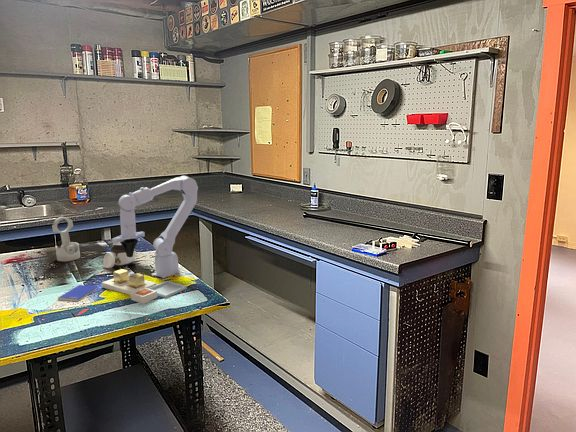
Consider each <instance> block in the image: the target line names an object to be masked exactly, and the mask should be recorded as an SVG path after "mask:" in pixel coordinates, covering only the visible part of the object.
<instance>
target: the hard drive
mask: <svg viewBox="0 0 576 432" xmlns="http://www.w3.org/2000/svg"><path fill="white" fill-rule="evenodd" d="M97 289H98V286H96V285H83V284H79V285H77V286H75V287H74V288H71V289H70V290H68V291H67V292H65V293H63V294H62V295H60V296H58V297H57V300H58V301H69V302H70V301H71V302H79V301H81V300H83V299H84V298H86V297H87V296H88V295H90V294H92V292H94V291H96V290H97Z"/></svg>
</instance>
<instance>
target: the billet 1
mask: <svg viewBox="0 0 576 432" xmlns="http://www.w3.org/2000/svg"><path fill="white" fill-rule="evenodd" d="M112 274H113V278H114V282H115V283H118V284H122V283H125V282H127V281H129V276H130V274H129V270H126V269H123V268H121V269H118V270H115V271H113V272H112Z"/></svg>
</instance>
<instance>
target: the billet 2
mask: <svg viewBox="0 0 576 432" xmlns="http://www.w3.org/2000/svg"><path fill="white" fill-rule="evenodd" d="M144 280H145V274H141V273H137V272H136V273H134V274H132V275H129V285H130V287H131V288H135V289H136V288H139V287H141V286H144V285H145V281H144Z"/></svg>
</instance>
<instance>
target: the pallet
mask: <svg viewBox="0 0 576 432" xmlns="http://www.w3.org/2000/svg"><path fill="white" fill-rule="evenodd" d="M144 281H145V285H144V286H141V287H139V288H136V289H135V288H131V287H130V285H129V281H127V282H125V283H122V284H118V283H115V282H114V277H113V278H110V279H108V280H104V281H101V288H104V289H107V290H110V291H112V292H114V291H116V292H118V293H123V294H125V295H129V296H131V294H130V293H133V292H135V291H137V290H140V289H142V288H150V287H153V286H155V285H158V284H157V282H154V281H150V280H147V279H144Z"/></svg>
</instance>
